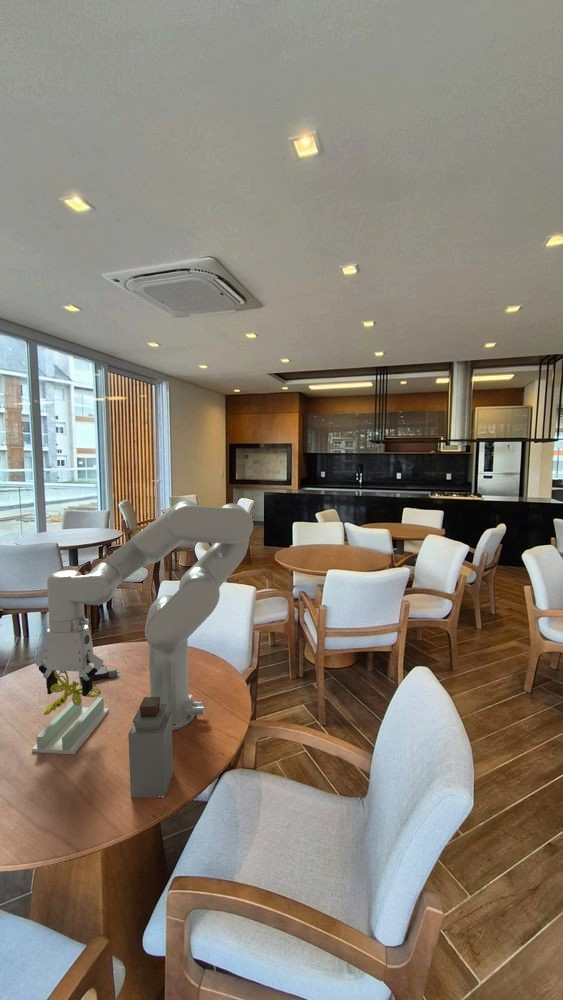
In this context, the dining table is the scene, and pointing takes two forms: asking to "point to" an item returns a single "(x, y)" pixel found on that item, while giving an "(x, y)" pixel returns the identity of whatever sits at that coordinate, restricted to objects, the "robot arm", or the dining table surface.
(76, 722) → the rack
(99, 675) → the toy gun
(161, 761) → the perfume bottle
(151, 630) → the robot arm
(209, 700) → the dining table surface
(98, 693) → the decorative insect
